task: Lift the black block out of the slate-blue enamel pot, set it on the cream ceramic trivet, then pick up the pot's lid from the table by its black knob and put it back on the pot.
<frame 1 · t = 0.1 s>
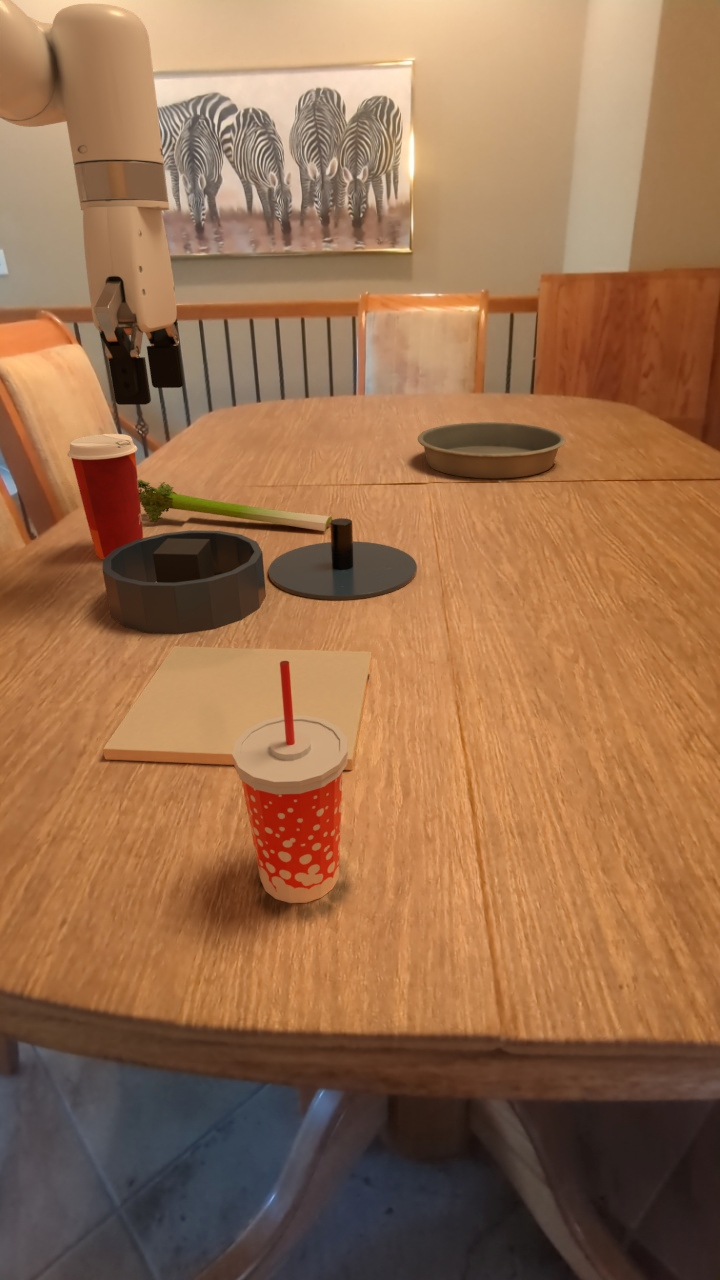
hand: (151, 395, 73), 20 cm above the table, tool pointing down, fingers open, 9 cm apart
lid: (342, 570, 85), point 1 cm above the table
cake pan: (489, 464, 129), on the table
paper cup: (120, 557, 92), on the table
pot: (189, 605, 78), on the table
block: (189, 600, 78), resting on pot
trivet: (252, 705, 61), on the table
celery stalk: (225, 526, 102), on the table
beverage cup: (300, 875, 44), on the table
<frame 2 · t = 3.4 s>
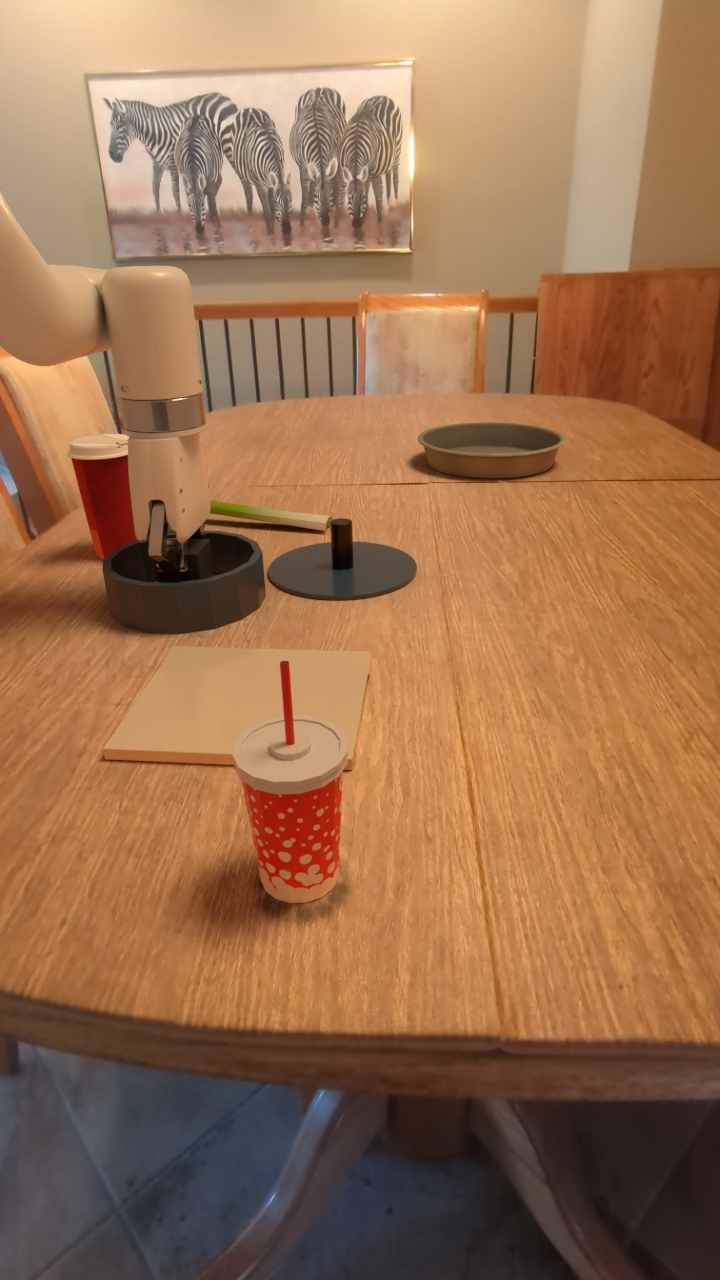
hand: (188, 593, 78), 1 cm above the table, tool pointing down, fingers closed on block, 4 cm apart
block: (189, 600, 78), point 1 cm above the table, touching gripper, pot
everything else where it was.
when the fingers open (2 cm above the table, at t = 10.5 s): block stays where it is, resting on trivet.
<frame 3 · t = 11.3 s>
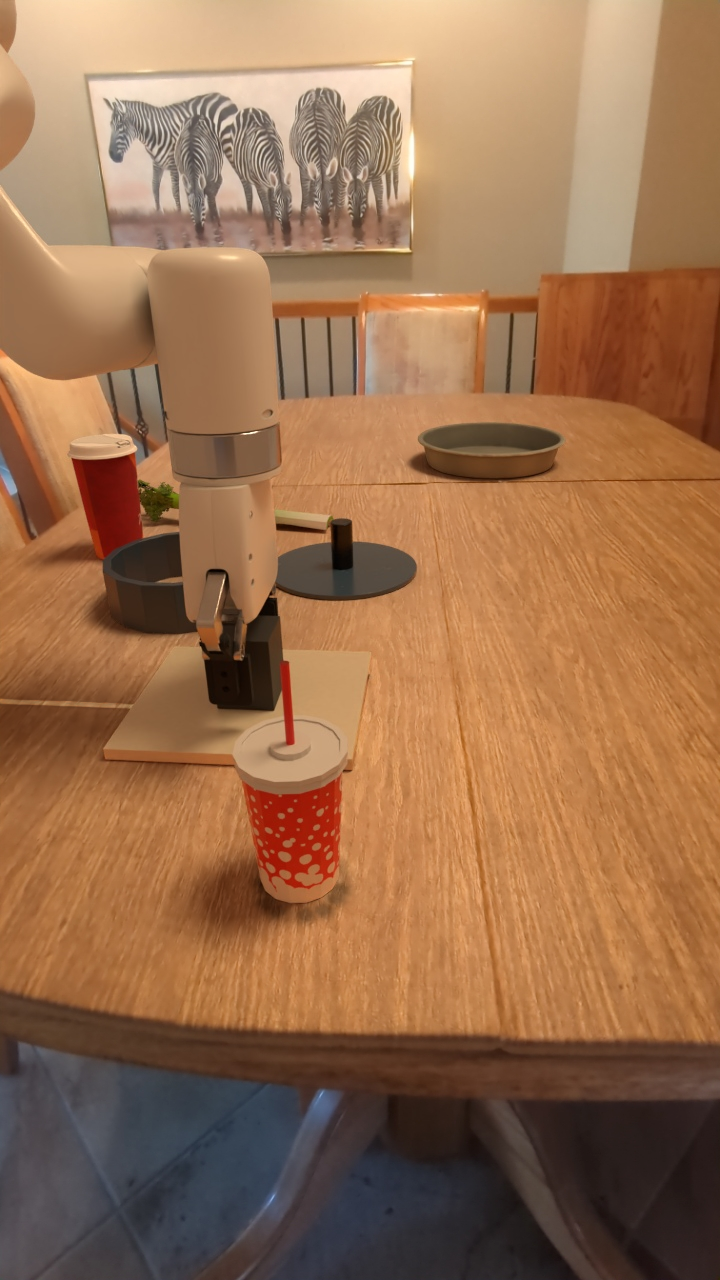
hand: (247, 670, 59), 3 cm above the table, tool pointing down, fingers open, 9 cm apart
block: (252, 695, 60), point 1 cm above the table, touching trivet
everything else where it was.
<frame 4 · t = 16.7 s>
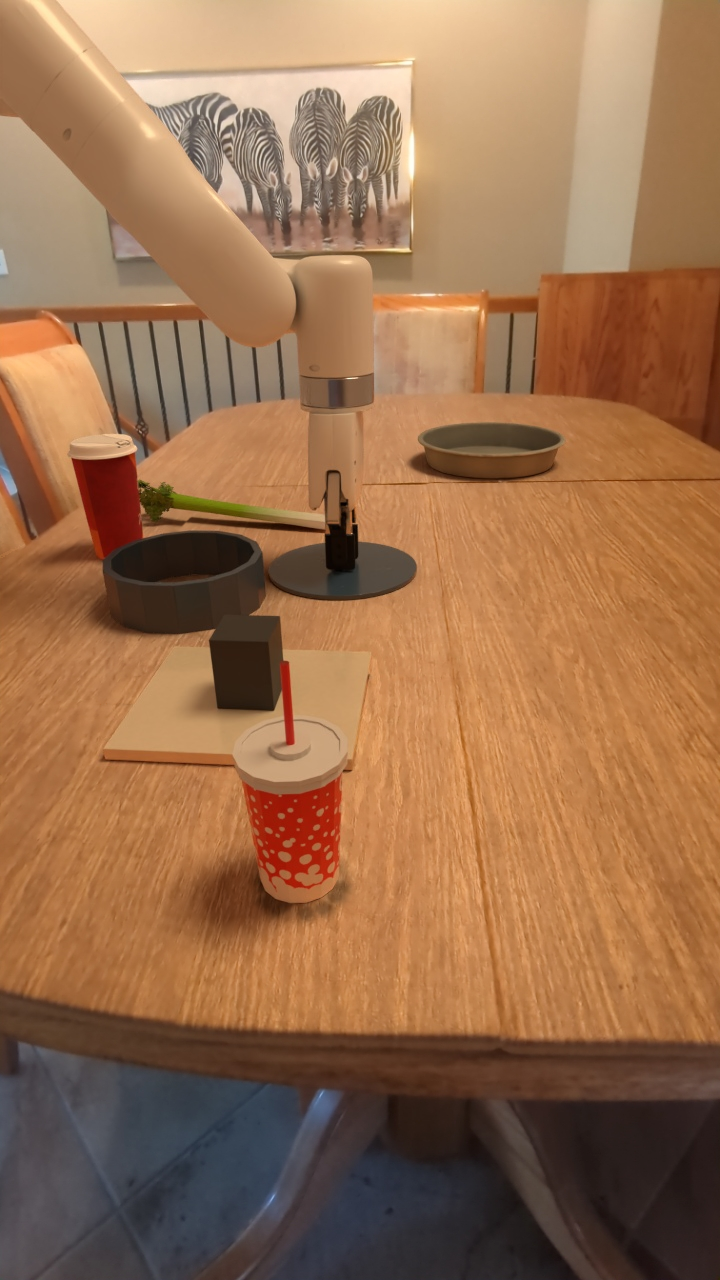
hand: (342, 562, 84), 2 cm above the table, tool pointing down, fingers closed on lid, 2 cm apart
lid: (342, 570, 85), point 1 cm above the table, touching gripper
everything else where it was.
when the fingers open (6 cm above the table, at t = 22.7 s): lid stays where it is, resting on pot.
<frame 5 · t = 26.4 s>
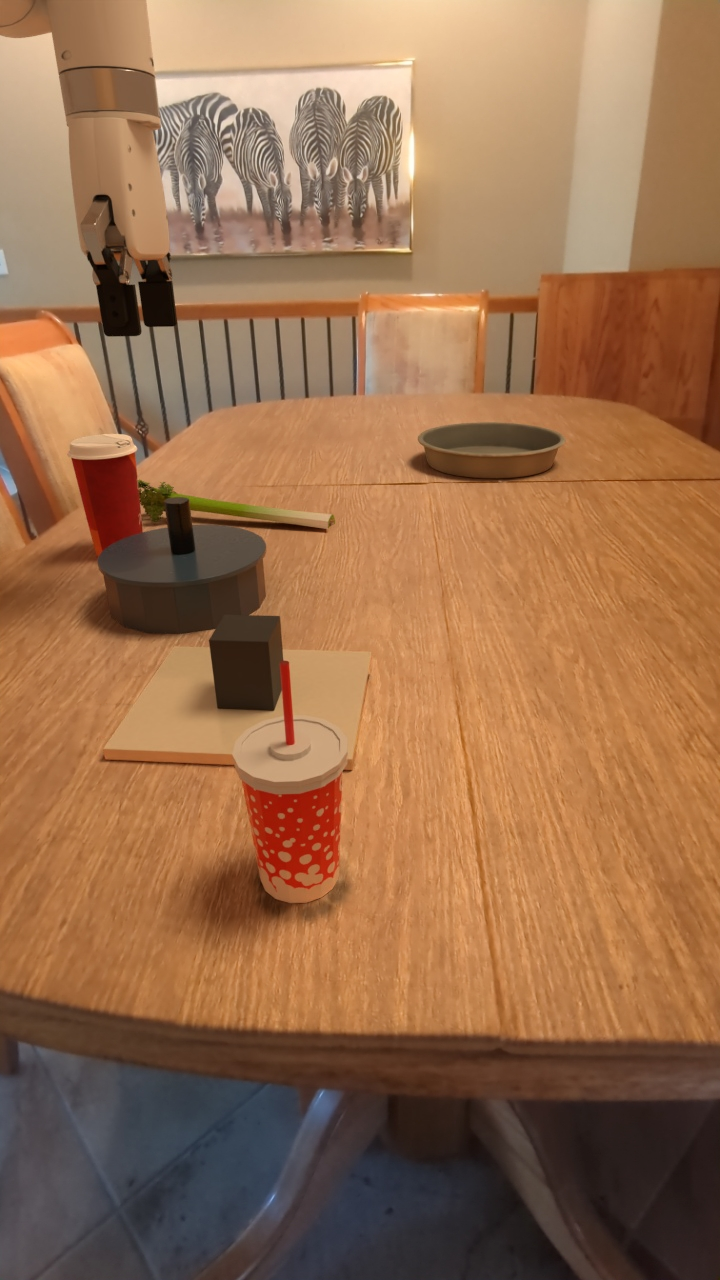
hand: (143, 330, 69), 26 cm above the table, tool pointing down, fingers open, 9 cm apart
lid: (183, 555, 76), point 5 cm above the table, touching pot
everything else where it was.
at the end: block inside the target area on the trivet (0.1 cm from its centre), point 1.0 cm above the trivet's base; lid 0.1 cm off-centre on the pot, point 5.5 cm above the pot's base; lid tilted 0° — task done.
